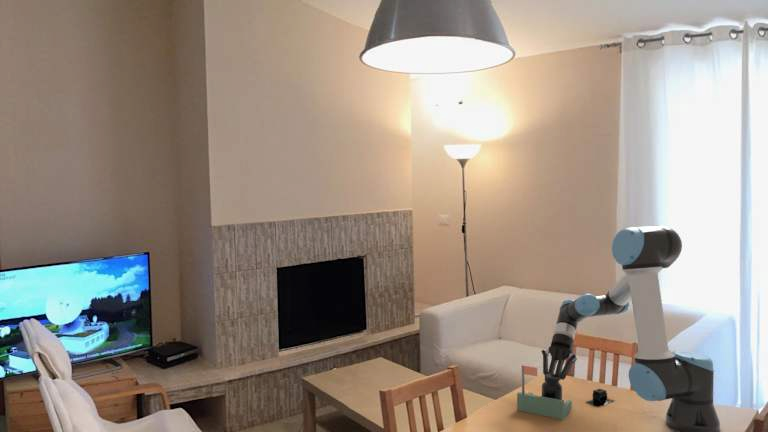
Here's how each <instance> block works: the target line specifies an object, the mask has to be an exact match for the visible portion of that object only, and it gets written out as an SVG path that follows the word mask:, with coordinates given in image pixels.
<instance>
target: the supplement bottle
mask: <svg viewBox="0 0 768 432" xmlns="http://www.w3.org/2000/svg"><path fill="white" fill-rule="evenodd" d="M541 396H543V397H548V398H553V399H558V400H563V386H562V384H561V383H560V380H559V376H558V375H556V374H555V373H554V374H546V375H544V381H543V382H542V384H541Z"/></svg>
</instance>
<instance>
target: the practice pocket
mask: <svg viewBox="0 0 768 432" xmlns="http://www.w3.org/2000/svg"><path fill="white" fill-rule="evenodd" d="M525 375H527V376H531V377H532V376H533V377H538V367H536V366H535V367H534V366H530V365H524V364H522V365H521V391H518V392H517V393H516V399H517V400H516V401H517V403H516V404H517V405H516V406H517V407H516V408H517V411H520V412H525V413H530V414H535V415H539V416H545V417H548V418H554V419H556V420H557V419H558V420H562V421H563V420H564V419H565V418H566V416H567V415H568V414H569V412H570V411H571V410H572V407H573V406H572V403H573V402H572V400H571V399H567V401H566V402H565V400H563V399H562V400H558V399H553V398H548V397H543V396H542V395H536V394H533V392H525Z"/></svg>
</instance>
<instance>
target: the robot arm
mask: <svg viewBox="0 0 768 432" xmlns="http://www.w3.org/2000/svg"><path fill="white" fill-rule="evenodd" d="M682 242H683V241H682V239H681V237H680V235H679V234H678V233H677V231H675V230H674V229H673V228H671V227H668V226H665V225H655V226H654V225H652V226H650V225H649V226H647V225H646V226H632V227H627V228H623V229H621V230H619V231H618V232H617V233H616V234H615V236H614V237H613V240H612V243H611V253H612V257H613V260H614V259H615V262H616V263H617V264H619V265H621V268H622V272H624V273H625V274H623V275H622V277H621V278H620V279H619V280H618V281H617V282H616V283H615V284H614V285H613V287H612V288H611V289H609V291H608V292H607V293H606V294H601V295H594V294H592V293H584V294H582V295H580V296H578V297H577V298H576V299H565V300H563V301H562V303H561V306H560V308H559V313H558V316H557V319H556V324H555V327H554V330H553V331H554V332H553V335H552V337H551V339H552V340H551V341H550V346H549V347H548V349H546V350H545V349H542V350H541V354H542V372H543V373H542V374H543V375H544V376H545V375H546V374H556V375H558V376H559V381H561V380H562V381H563V380H565V379H566V377H567V375H568V374H569V372H570V370H571V368H572V366H573V364H574V363H575V362H576V361H577V359H578V358H577V356H576V354H573V352H572V348H573V344H574V340H575V336H576V332H577V327H578V325H579V323H580V322H581V321H583V320H585V319H587V318H593V317H601V316H609V315H610V316H611V315H620V314H622V313H623V314H624V313H626V312H627V311H628V310H629V307H630V301H631V304H632V310H633V317H634V318H633V319H634V326H635V332H636V339H637V346H638V347H637V348H638V351H637V352H636V353H635V355H634V357H633V358H634V363H633V365H631V366H630V368H629V370H628V379H629V380H628V381H629V383H630V386H631V388H632V390H633V391H634V392H635V393H636V394H637V396H638V397H640V398H641V399H642V400H645V401H646V402H662V401H664V400H670V399H671V400H670V404H669V406H668V408H667V410H666V414H665V417H666V419H665V420H666V423H667V425H668V426H670V427H671V428H672V429H675V430H677V431H681V432H719V431H720V429H721V422H720V418H719V416H718V414H717V411H716V407H715V405H714V375H715V374H714V372H715V370H714V363H713V360H712V358H710V357H709V356H706V355H704V354H701V353H697V352H693V351H685V350H674V351H672V352H671V351H670V349H669V345H668V336H667V330H666V322H665V315H664V307H663V303H662V294H661V288H660V287H661V286H660V281H659V279H660V278H659V272H662V271H661V270H663V269H668V268H670V266H672V265H673V264H674V263H675V262H676V261H677V259H678V258H679V257H680V255H681V252H682V248H683V243H682ZM549 354H550V355H549ZM549 356H550V357H551V358H550V359H551V360H550V364H549ZM565 361H566V363H565Z"/></svg>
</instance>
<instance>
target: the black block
mask: <svg viewBox="0 0 768 432" xmlns="http://www.w3.org/2000/svg"><path fill="white" fill-rule="evenodd" d="M585 403H586V404H588V405H591V406H594V407H597V408H598V407H602V406H605V405H608V404H611V403H615V400H614V399H610V398H608V392H607V390H606V389H602V388H597V389H594V390H592V399H590V400H587V401H585Z"/></svg>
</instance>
